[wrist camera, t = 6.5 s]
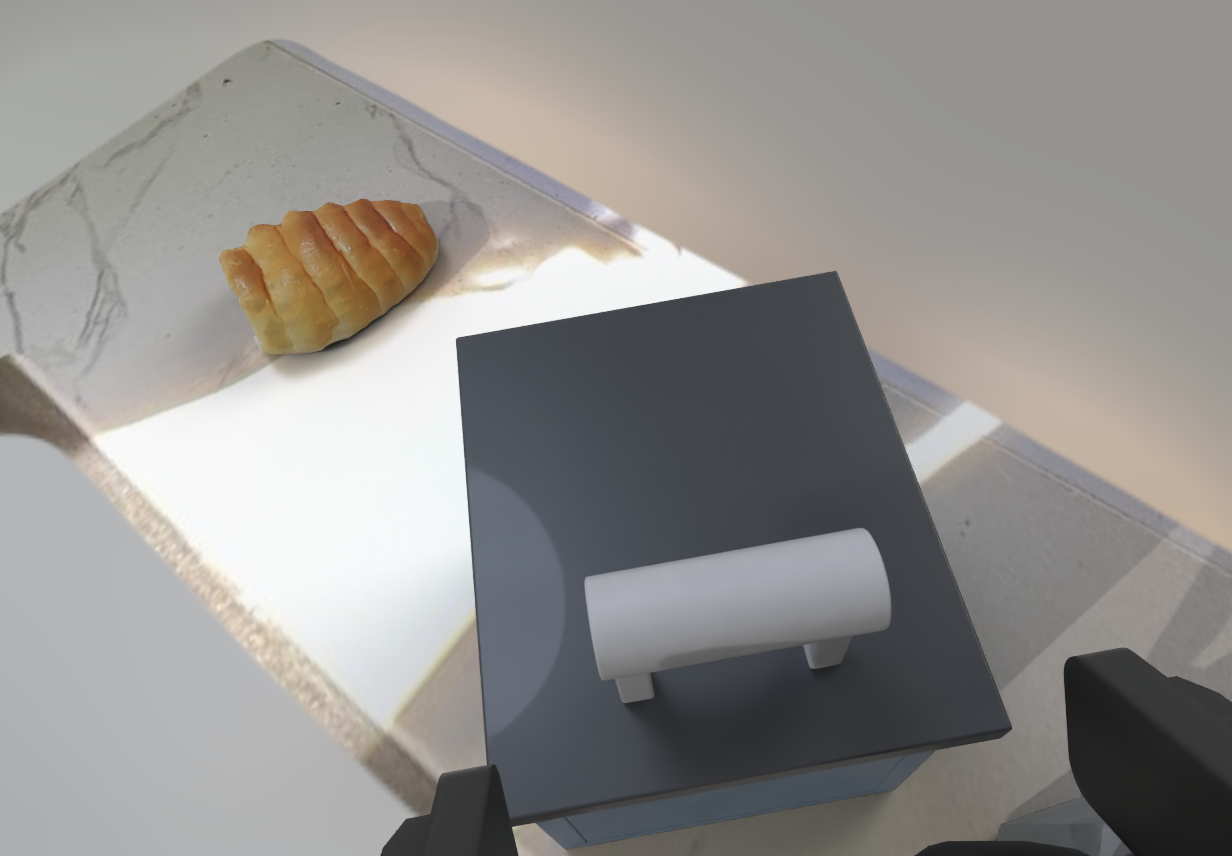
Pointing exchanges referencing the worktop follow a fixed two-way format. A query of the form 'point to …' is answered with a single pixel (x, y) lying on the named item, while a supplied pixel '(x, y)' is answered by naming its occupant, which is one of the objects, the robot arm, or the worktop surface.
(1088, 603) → the worktop surface
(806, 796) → the blue-grey box
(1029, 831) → the coffeepot
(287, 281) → the pastry
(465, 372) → the grey box lid
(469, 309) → the worktop surface
